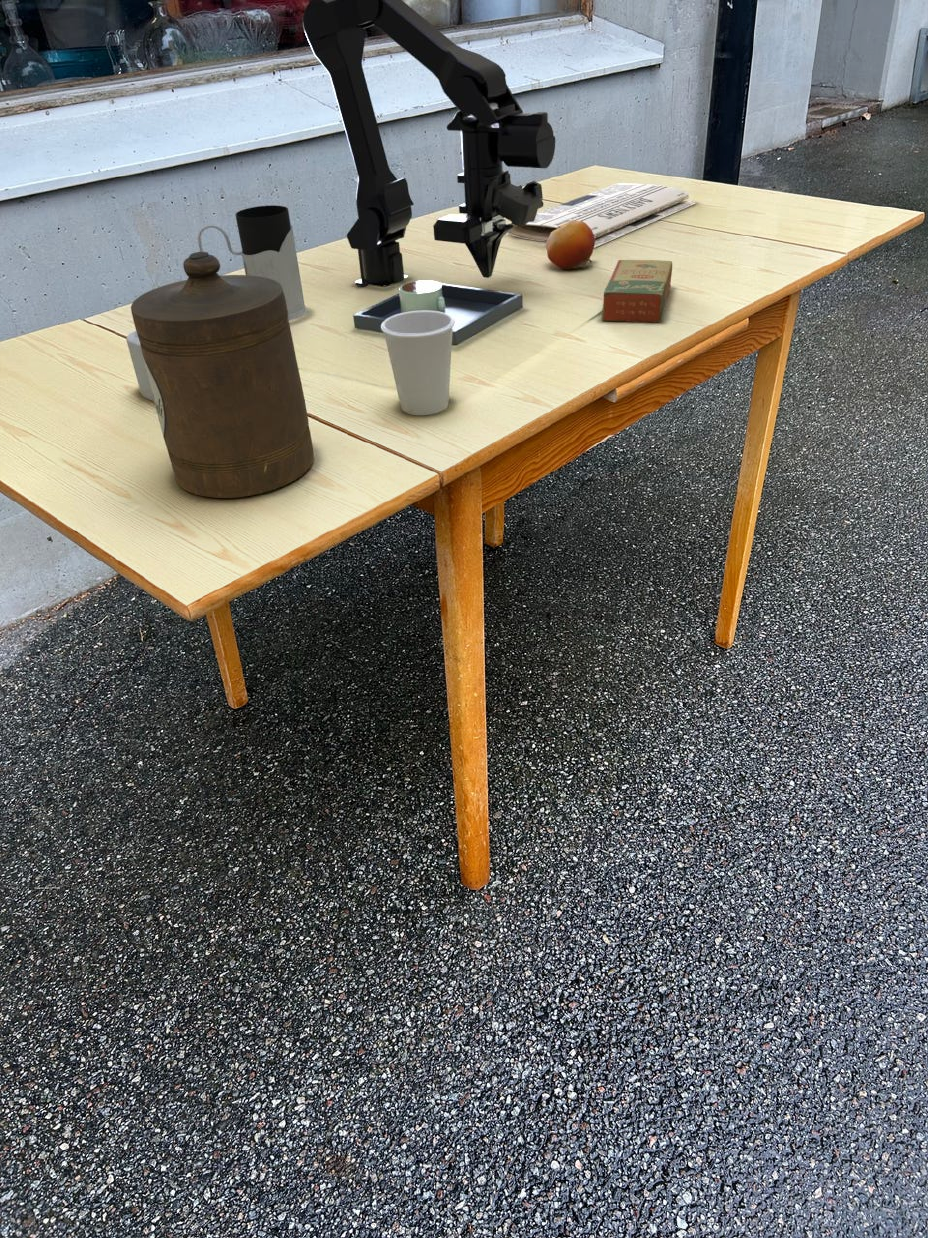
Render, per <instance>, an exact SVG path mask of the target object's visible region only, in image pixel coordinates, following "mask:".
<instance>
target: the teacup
mask: <svg viewBox="0 0 928 1238" xmlns="http://www.w3.org/2000/svg"><path fill="white" fill-rule="evenodd" d="M440 283H441V282H440V281H439V282H438V281H435V280H415V281H414V280H413V281H409V282H406V283H403V284H401V285H400V286H399V288H398V293H399V296H400V306H401V313H404V312H410V311H420V310H430V311H439V312H443V313H445V302H444V298H443V294H442V285H441V284H440Z"/></svg>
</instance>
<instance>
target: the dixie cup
mask: <svg viewBox="0 0 928 1238" xmlns="http://www.w3.org/2000/svg"><path fill="white" fill-rule="evenodd" d="M454 324H455V320H454V318H453V317H452V316H450V315H449V314H446V313H443V312H439V311H430V310H420V311H410V312H404V313H400V314H396V315H393V316H391V317H389V318H387V319H386V320H385V321H384V322H383V323H382V324H381V330H382V331H383V332H384V333H383V336H384V340H385V343H386V348H387V352H388V357H389V361H390V366H391V369H392V370H391V371H392V374H393V378H394V379H393V380H394V383H395V387H396V392H397V397H398V401H399V405H400V408H401V410H402V412H404V413H406V414H408V415H412V416H429V415H430V416H431V415H435V414H438V413H441V412H443V411H445V410H446V409H447V408H448V407H449V405H450V404H449V403H450V387H451V385H450V383H451V368H452V367H451V365H452V347H453V345H452V332H453V326H454Z"/></svg>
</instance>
